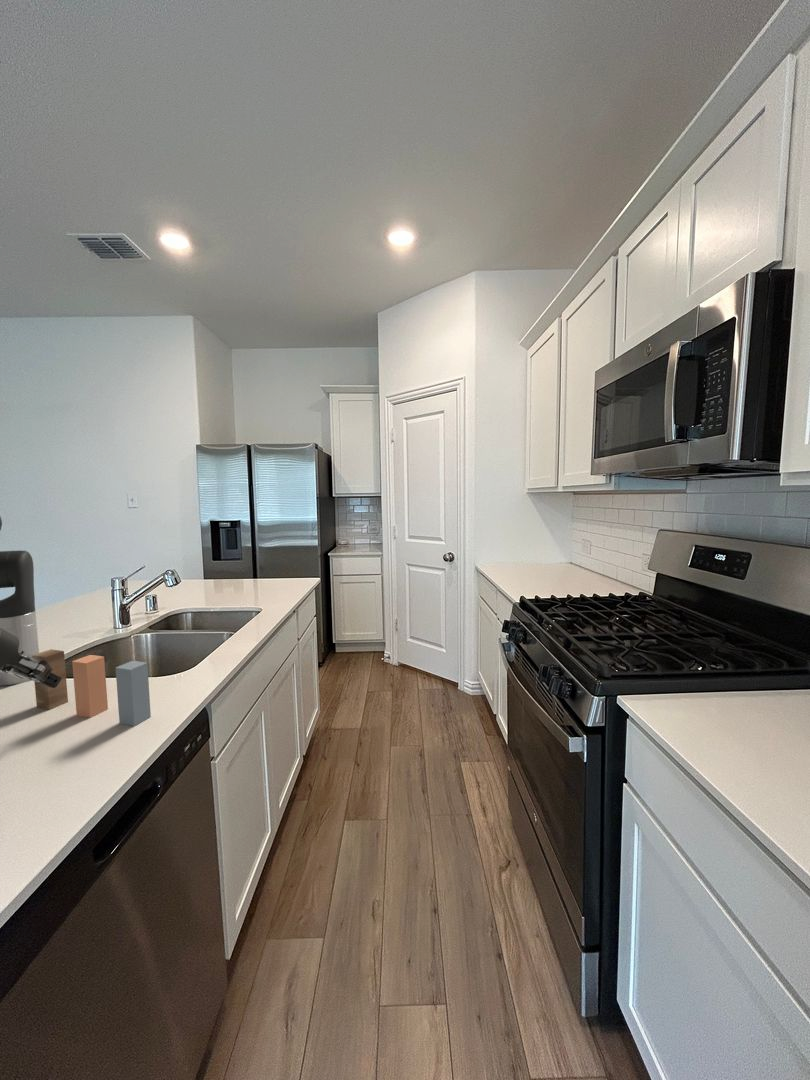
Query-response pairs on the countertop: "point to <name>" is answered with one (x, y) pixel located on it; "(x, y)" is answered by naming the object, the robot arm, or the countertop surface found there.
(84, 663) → the terracotta pillar
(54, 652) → the walnut pillar
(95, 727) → the countertop surface
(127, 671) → the slate pillar
